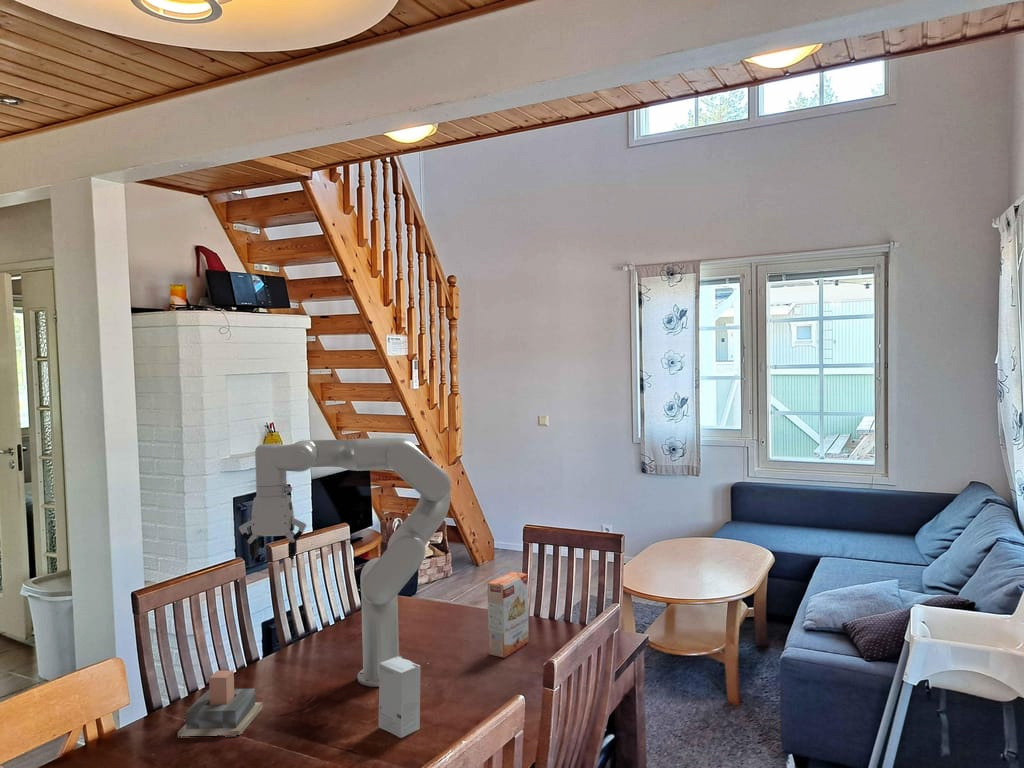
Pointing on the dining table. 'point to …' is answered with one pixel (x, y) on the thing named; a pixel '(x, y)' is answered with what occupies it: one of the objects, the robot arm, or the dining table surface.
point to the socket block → (221, 715)
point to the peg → (221, 687)
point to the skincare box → (399, 696)
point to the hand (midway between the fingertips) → (273, 557)
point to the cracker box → (508, 614)
